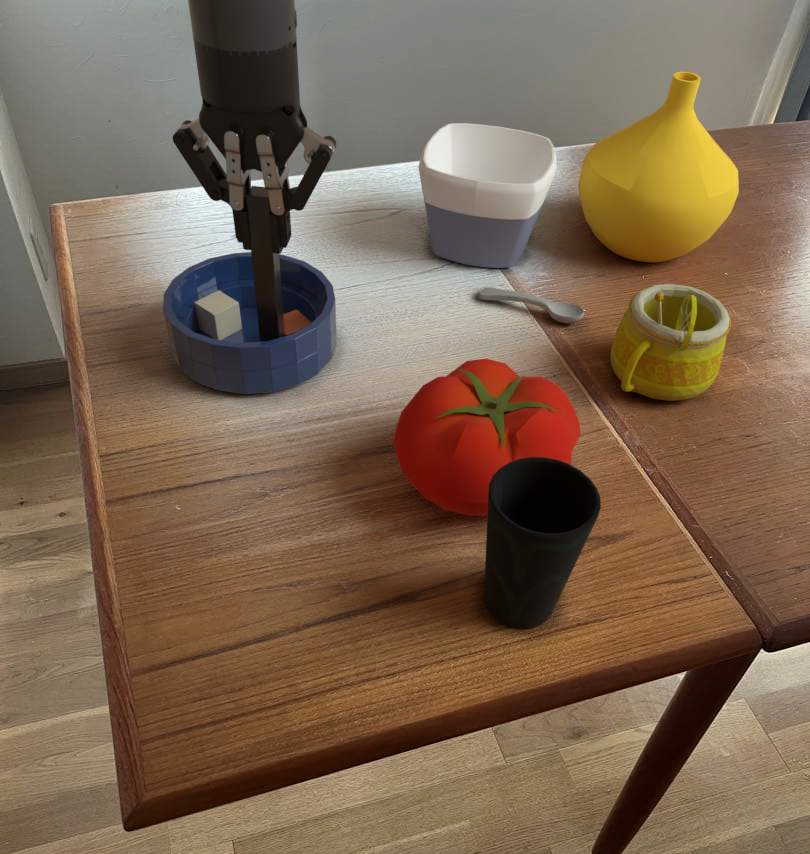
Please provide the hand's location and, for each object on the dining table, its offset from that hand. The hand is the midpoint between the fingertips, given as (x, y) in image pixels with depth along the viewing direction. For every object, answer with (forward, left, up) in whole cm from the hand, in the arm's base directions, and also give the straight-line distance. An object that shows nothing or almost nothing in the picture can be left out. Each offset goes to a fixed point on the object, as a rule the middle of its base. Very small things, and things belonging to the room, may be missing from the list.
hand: (265, 246), depth 73 cm
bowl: (+18, +29, -13) cm, 37 cm away
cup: (+26, -25, -13) cm, 39 cm away
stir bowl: (-3, +3, -13) cm, 14 cm away
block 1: (-7, +4, -13) cm, 15 cm away
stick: (0, 0, -11) cm, 11 cm away
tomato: (+22, -12, -13) cm, 28 cm away
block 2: (+1, +3, -13) cm, 13 cm away
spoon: (+25, +16, -13) cm, 33 cm away
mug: (+38, +6, -13) cm, 41 cm away
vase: (+38, +34, -13) cm, 53 cm away
